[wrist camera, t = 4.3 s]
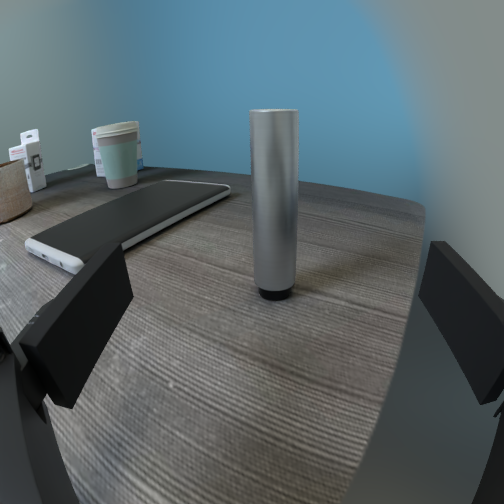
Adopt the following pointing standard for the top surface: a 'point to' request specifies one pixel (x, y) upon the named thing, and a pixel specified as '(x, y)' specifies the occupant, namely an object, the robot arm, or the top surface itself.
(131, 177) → the coffee cup
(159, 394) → the top surface
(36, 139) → the ink box
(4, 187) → the planter
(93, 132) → the ink box
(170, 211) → the smartphone
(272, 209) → the grey metal rod
